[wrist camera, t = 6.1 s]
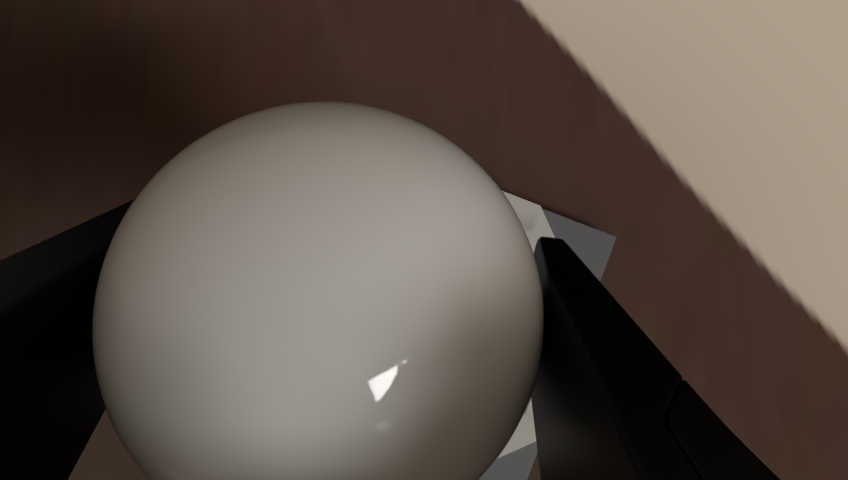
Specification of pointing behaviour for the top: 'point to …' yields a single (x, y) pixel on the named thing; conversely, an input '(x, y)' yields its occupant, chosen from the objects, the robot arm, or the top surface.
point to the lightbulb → (318, 305)
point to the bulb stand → (594, 251)
